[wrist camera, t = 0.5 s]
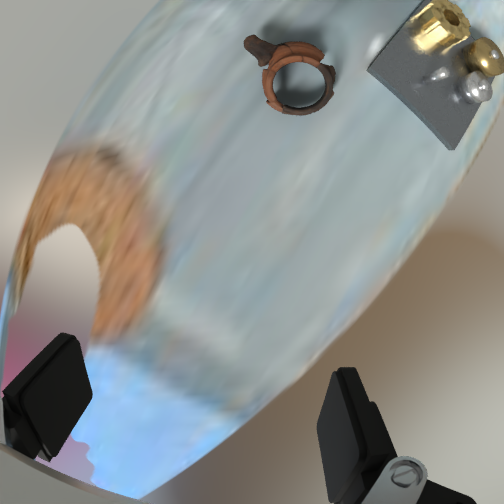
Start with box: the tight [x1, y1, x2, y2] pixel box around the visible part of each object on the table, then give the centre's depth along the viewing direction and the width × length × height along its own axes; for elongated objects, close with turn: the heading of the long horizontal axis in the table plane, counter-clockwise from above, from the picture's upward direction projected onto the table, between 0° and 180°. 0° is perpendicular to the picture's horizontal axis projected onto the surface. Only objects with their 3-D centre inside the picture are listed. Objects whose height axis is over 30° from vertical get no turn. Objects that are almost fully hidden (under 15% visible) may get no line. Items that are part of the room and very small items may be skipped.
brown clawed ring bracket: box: [244, 35, 336, 115], centre depth 31 cm, size 12×10×8 cm
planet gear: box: [419, 0, 471, 47], centre depth 26 cm, size 7×7×4 cm
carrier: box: [367, 0, 504, 150], centre depth 28 cm, size 20×16×6 cm
